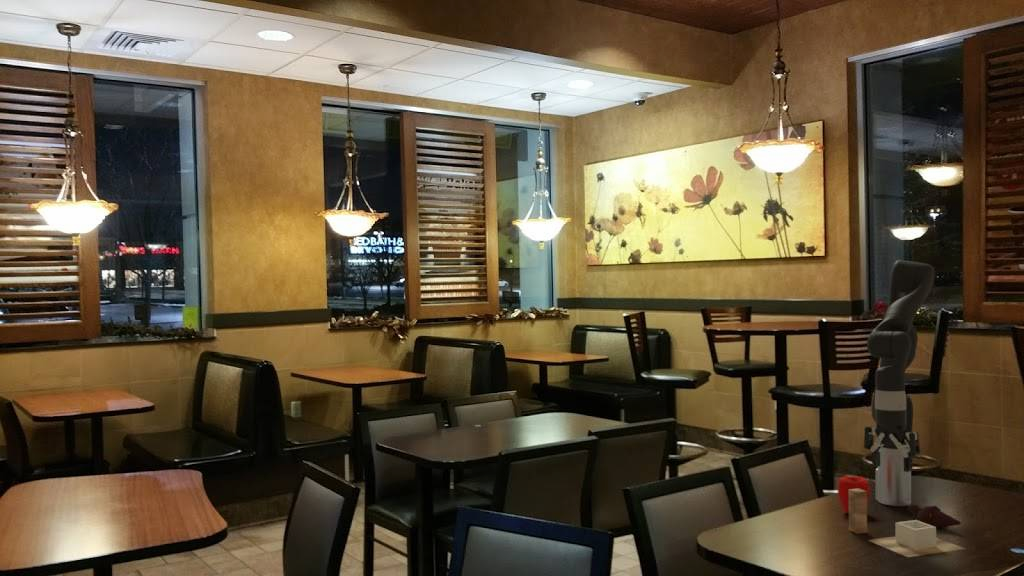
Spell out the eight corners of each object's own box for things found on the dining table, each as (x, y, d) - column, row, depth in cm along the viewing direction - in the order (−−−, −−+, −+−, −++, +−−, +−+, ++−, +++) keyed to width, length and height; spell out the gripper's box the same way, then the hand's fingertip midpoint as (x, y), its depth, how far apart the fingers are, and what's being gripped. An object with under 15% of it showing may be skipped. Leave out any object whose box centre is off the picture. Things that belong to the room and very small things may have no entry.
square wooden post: (848, 533, 227) (848, 489, 227) (858, 532, 228) (858, 488, 228) (857, 537, 224) (856, 492, 224) (867, 536, 225) (866, 491, 225)
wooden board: (867, 543, 219) (867, 540, 219) (922, 536, 224) (922, 532, 224) (907, 561, 205) (907, 557, 205) (965, 552, 211) (965, 548, 211)
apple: (855, 507, 252) (854, 471, 252) (877, 515, 244) (877, 478, 244) (831, 511, 249) (831, 474, 249) (852, 519, 241) (852, 481, 241)
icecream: (969, 510, 226) (916, 503, 238) (953, 507, 222) (900, 500, 235) (967, 537, 224) (915, 528, 237) (951, 535, 221) (899, 526, 233)
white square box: (895, 541, 217) (895, 522, 217) (916, 539, 219) (916, 520, 219) (915, 549, 211) (914, 529, 211) (936, 546, 213) (936, 527, 213)
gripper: (924, 408, 218) (925, 471, 218) (873, 403, 230) (875, 462, 230) (908, 411, 214) (909, 475, 214) (857, 405, 226) (858, 466, 226)
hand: (891, 468), depth 222 cm, fingers open, 8 cm apart
